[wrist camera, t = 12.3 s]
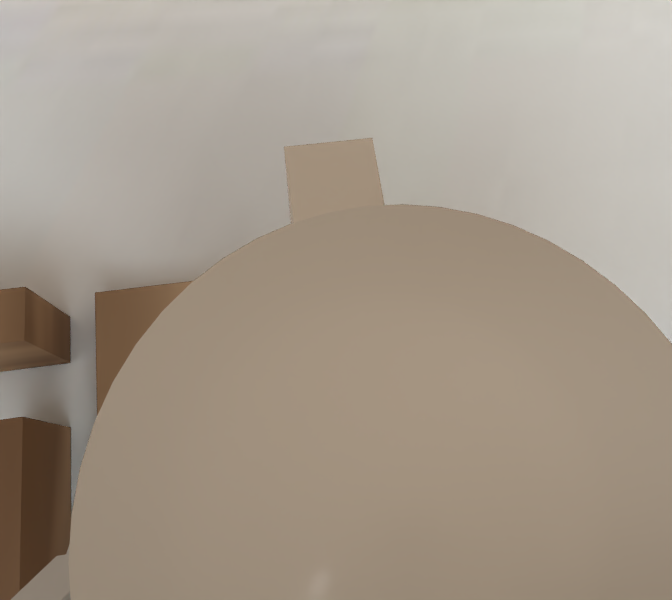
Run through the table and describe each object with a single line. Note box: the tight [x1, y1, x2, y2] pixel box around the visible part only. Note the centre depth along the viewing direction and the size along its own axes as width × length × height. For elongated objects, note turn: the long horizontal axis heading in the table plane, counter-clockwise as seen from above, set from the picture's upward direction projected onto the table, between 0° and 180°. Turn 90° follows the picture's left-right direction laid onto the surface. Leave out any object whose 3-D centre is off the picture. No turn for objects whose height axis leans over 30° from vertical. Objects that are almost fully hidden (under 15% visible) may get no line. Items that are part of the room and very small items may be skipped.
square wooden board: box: [95, 281, 193, 416], centre depth 17 cm, size 14×14×1 cm
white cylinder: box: [68, 138, 672, 600], centre depth 11 cm, size 6×8×12 cm
